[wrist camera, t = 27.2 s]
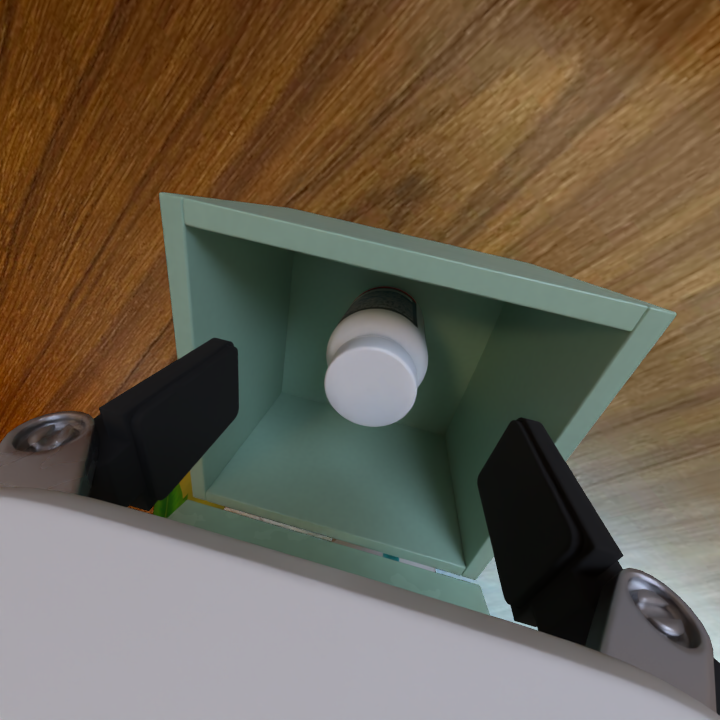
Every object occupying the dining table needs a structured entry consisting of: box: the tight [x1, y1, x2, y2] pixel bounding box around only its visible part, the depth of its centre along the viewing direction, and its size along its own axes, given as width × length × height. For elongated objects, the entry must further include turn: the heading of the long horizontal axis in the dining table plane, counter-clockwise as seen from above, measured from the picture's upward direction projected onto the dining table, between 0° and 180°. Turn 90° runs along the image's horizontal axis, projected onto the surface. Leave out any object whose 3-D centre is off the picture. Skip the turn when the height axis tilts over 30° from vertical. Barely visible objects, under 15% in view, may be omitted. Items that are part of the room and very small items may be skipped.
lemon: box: [153, 471, 225, 518], centre depth 25 cm, size 7×6×10 cm
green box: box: [159, 192, 677, 580], centre depth 16 cm, size 15×16×11 cm
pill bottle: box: [324, 286, 428, 427], centre depth 16 cm, size 5×5×9 cm
